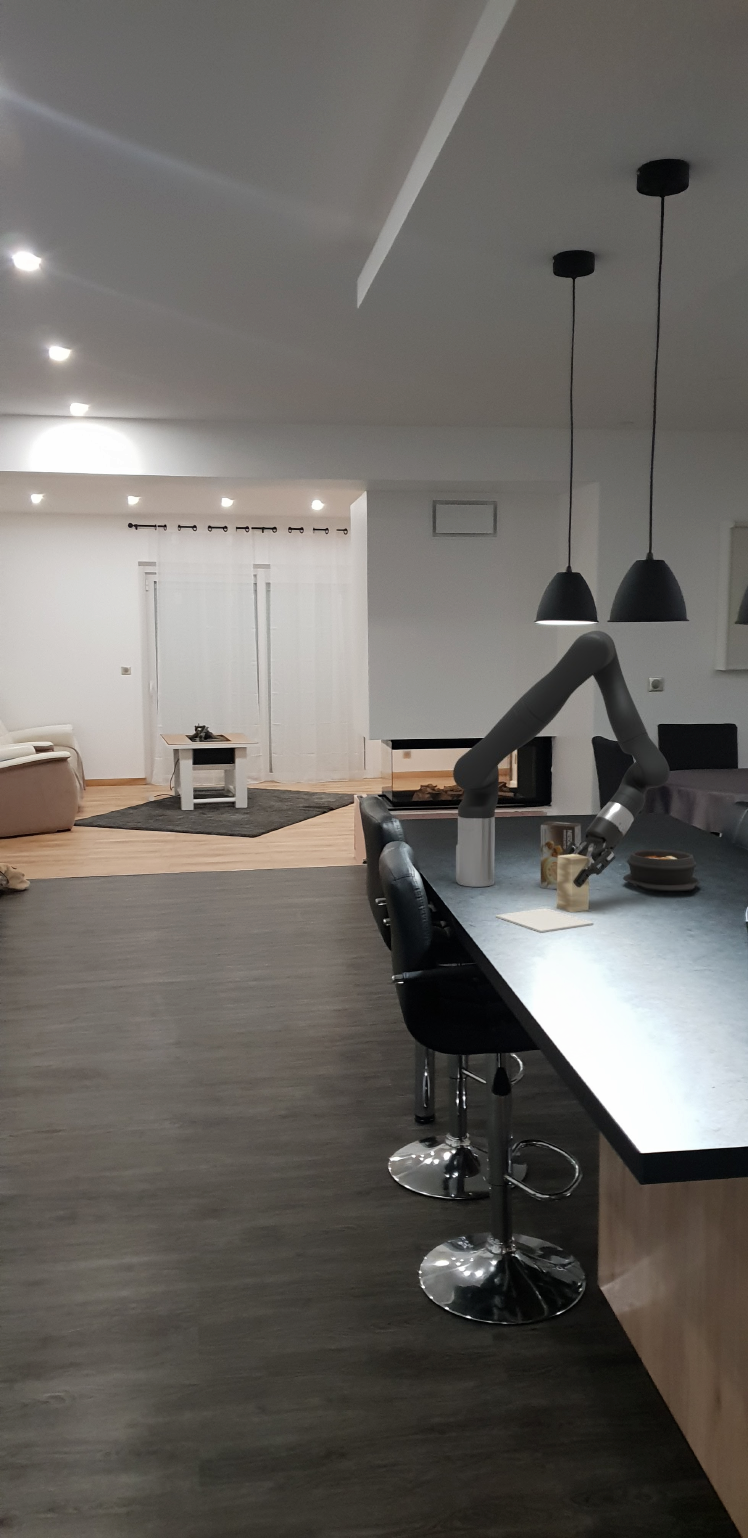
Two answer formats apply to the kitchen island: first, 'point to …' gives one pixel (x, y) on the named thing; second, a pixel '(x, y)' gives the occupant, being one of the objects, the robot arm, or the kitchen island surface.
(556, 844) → the coffee box
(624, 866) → the kitchen island surface
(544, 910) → the felt mat
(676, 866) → the casserole
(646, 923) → the kitchen island surface
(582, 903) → the birch block
